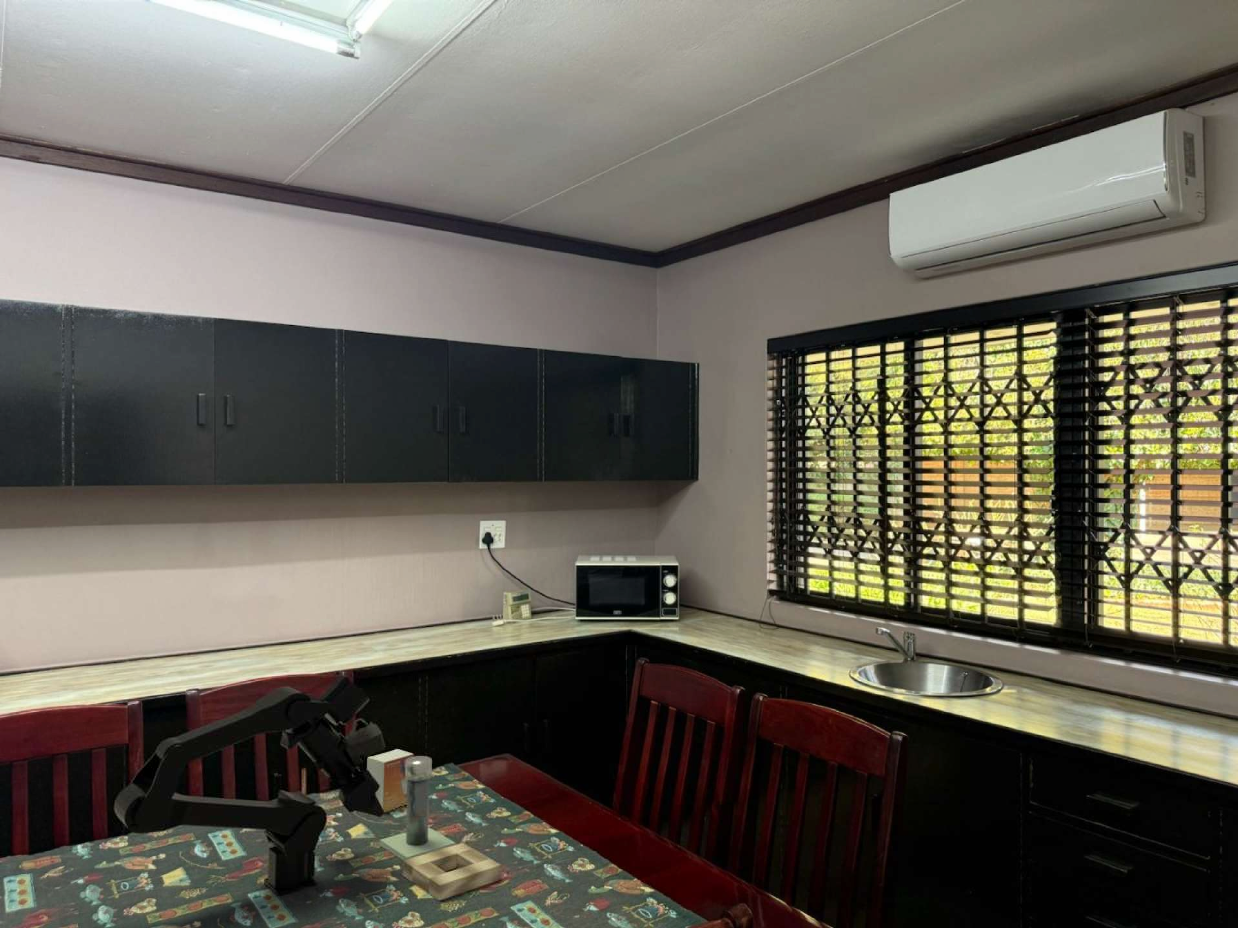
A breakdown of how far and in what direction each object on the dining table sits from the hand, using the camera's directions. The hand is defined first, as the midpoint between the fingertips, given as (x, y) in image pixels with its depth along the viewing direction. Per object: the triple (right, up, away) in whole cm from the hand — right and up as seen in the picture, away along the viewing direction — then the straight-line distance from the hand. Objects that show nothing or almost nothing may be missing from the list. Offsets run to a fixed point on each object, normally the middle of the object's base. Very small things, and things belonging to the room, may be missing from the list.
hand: (374, 802), depth 160 cm
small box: (-4, -11, +26) cm, 29 cm away
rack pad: (+6, -10, +6) cm, 14 cm away
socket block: (+15, -10, -7) cm, 19 cm away
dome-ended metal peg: (+6, -9, +6) cm, 13 cm away
